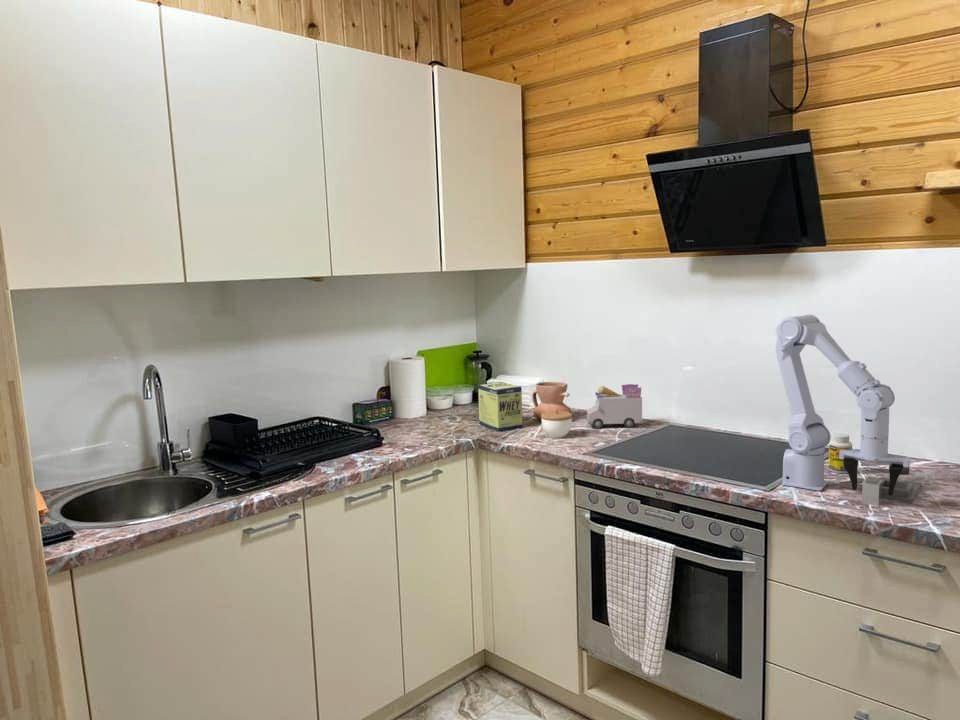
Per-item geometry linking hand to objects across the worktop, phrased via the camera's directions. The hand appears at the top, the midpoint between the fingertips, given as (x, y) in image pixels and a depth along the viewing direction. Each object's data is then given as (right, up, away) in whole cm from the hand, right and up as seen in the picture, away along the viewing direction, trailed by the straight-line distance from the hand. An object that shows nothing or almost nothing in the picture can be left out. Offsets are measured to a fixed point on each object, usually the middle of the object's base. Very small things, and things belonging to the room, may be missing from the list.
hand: (872, 491), depth 166 cm
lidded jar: (-67, +5, +75) cm, 101 cm away
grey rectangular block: (0, -2, 0) cm, 3 cm away
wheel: (+12, +3, +9) cm, 15 cm away
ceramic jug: (-67, +8, +101) cm, 121 cm away
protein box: (-86, +7, +93) cm, 127 cm away
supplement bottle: (+5, +1, +24) cm, 25 cm away
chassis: (+10, -1, +7) cm, 12 cm away
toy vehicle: (-45, +7, +86) cm, 98 cm away
